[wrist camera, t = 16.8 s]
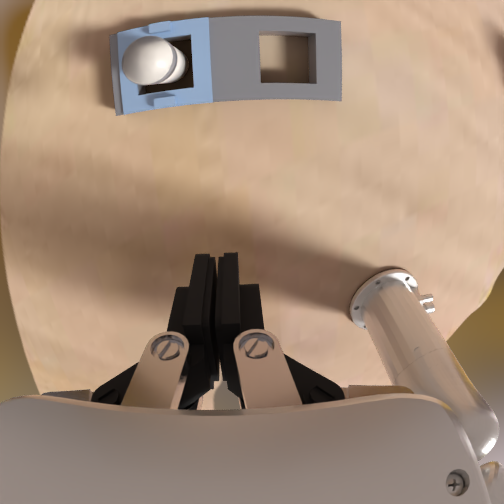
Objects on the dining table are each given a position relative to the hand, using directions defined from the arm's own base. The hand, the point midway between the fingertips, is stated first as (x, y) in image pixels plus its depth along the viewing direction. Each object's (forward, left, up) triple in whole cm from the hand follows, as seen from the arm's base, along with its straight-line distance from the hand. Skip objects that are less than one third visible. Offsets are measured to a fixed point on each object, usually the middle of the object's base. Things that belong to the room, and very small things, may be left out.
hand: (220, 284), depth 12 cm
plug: (+5, -10, -24) cm, 26 cm away
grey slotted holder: (-1, -10, -24) cm, 26 cm away
